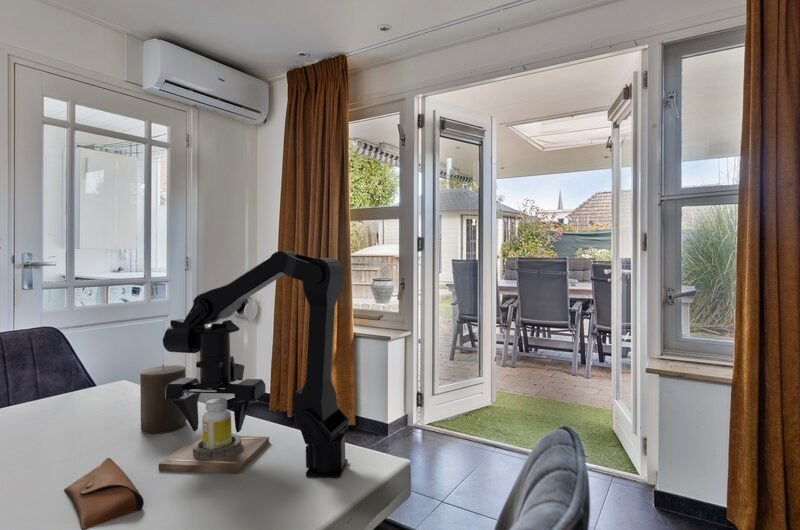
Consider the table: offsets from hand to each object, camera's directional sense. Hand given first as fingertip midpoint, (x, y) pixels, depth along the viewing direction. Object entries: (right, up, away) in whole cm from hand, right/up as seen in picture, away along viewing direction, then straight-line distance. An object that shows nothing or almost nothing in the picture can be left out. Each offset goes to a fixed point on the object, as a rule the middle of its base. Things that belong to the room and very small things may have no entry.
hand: (217, 430), depth 92 cm
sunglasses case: (-13, -6, -16) cm, 21 cm away
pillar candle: (-19, -5, +16) cm, 26 cm away
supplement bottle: (0, -4, 0) cm, 4 cm away
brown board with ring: (0, -5, 0) cm, 5 cm away
